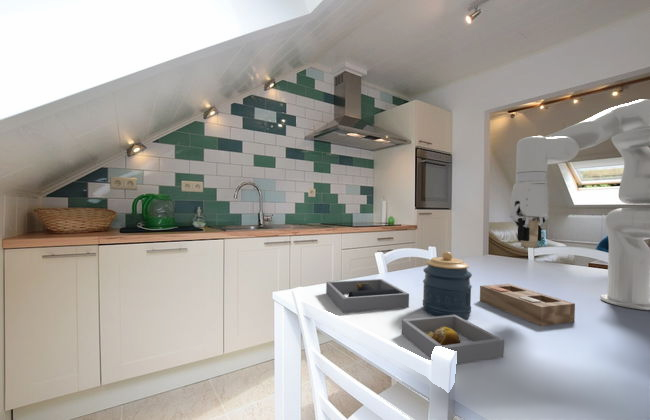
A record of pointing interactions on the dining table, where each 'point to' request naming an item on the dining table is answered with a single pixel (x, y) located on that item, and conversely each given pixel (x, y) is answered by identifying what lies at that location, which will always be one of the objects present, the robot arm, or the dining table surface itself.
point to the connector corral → (365, 302)
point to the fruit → (444, 336)
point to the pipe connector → (370, 291)
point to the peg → (532, 235)
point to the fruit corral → (477, 350)
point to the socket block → (528, 304)
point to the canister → (447, 287)
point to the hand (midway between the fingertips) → (529, 239)
